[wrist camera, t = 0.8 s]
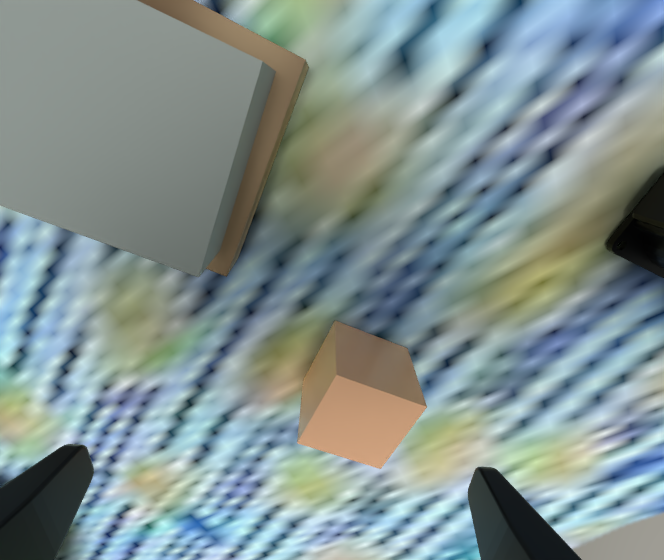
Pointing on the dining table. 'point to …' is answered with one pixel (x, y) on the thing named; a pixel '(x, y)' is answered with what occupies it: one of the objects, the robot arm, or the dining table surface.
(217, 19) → the walnut slab
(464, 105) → the dining table surface
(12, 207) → the grey square block
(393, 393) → the terracotta cube
